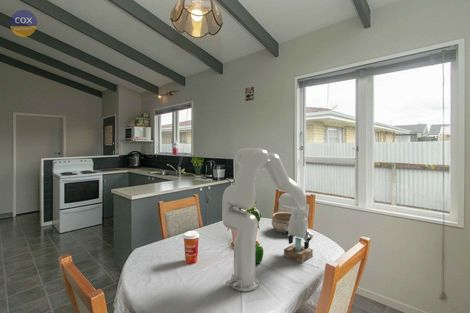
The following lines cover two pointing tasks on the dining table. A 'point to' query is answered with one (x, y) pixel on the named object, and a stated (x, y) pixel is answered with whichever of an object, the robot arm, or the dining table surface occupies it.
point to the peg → (298, 244)
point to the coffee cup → (191, 246)
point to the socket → (298, 253)
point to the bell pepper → (258, 253)
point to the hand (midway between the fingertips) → (298, 245)
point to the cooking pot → (281, 221)
